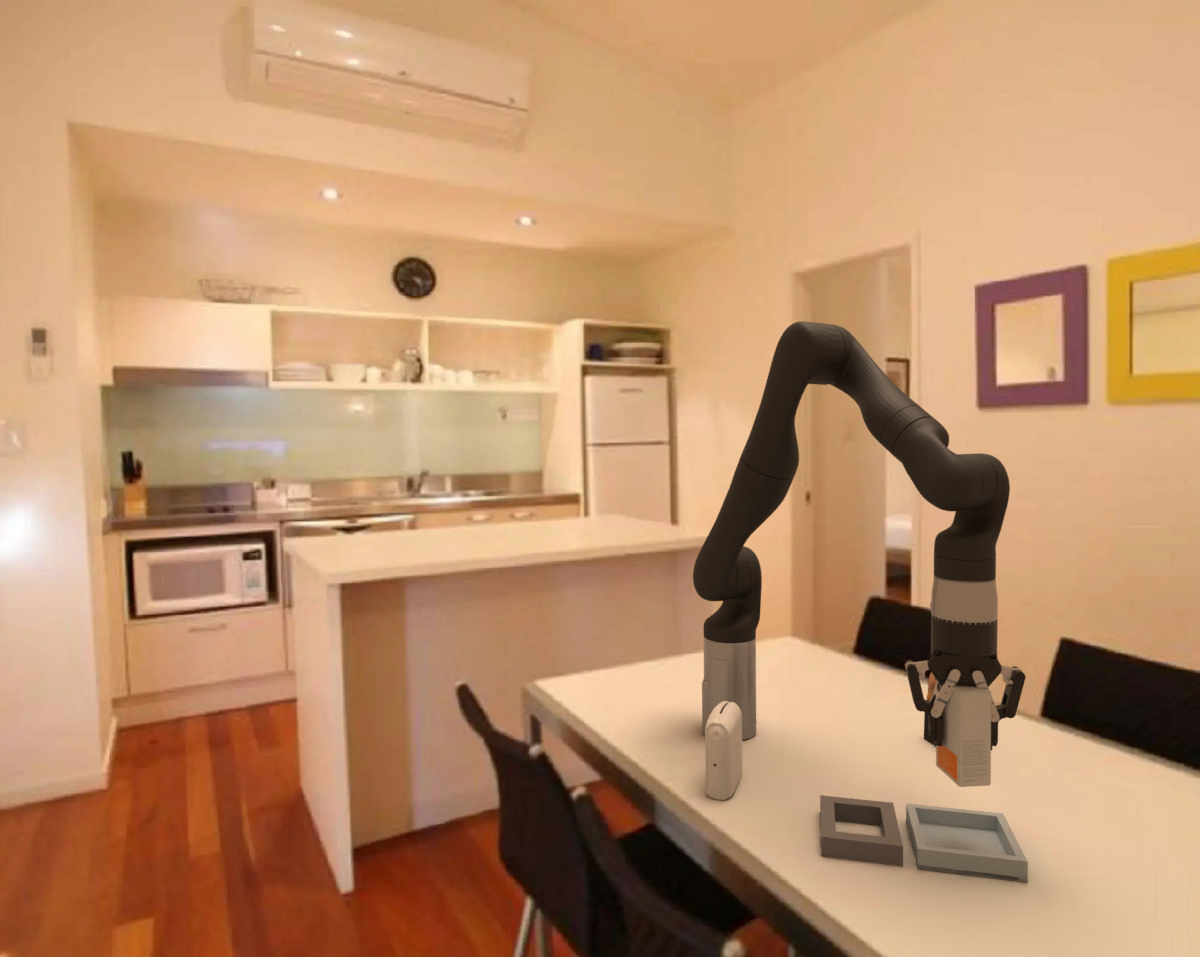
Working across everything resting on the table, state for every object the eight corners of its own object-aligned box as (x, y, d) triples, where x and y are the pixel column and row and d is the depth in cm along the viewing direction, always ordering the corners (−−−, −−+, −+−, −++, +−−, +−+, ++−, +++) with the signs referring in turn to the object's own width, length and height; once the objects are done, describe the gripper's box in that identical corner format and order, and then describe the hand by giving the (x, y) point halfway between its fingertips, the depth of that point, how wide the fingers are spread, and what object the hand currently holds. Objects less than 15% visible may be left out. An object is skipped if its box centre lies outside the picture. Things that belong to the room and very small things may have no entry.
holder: (821, 855, 97) (821, 836, 97) (820, 812, 108) (820, 795, 108) (902, 866, 94) (902, 846, 94) (892, 820, 105) (893, 802, 105)
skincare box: (934, 767, 100) (934, 676, 100) (966, 765, 101) (966, 675, 100) (958, 788, 94) (958, 691, 94) (992, 786, 94) (993, 690, 94)
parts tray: (917, 868, 94) (918, 848, 94) (906, 821, 105) (906, 803, 105) (1027, 882, 91) (1027, 861, 90) (1002, 831, 102) (1003, 813, 102)
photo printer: (731, 802, 111) (730, 718, 111) (702, 798, 113) (701, 715, 112) (745, 773, 121) (744, 696, 120) (718, 769, 122) (717, 693, 122)
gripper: (906, 617, 95) (905, 752, 96) (1036, 622, 91) (1034, 763, 92) (899, 604, 102) (898, 730, 103) (1019, 609, 98) (1017, 739, 99)
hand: (962, 745), depth 97 cm, fingers closed on skincare box, 5 cm apart
